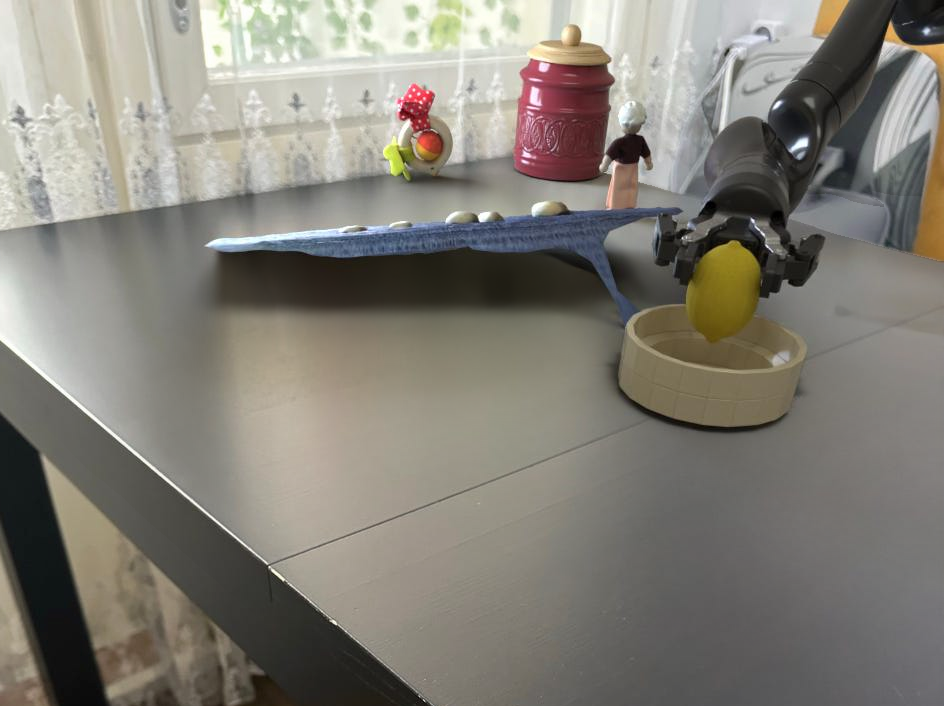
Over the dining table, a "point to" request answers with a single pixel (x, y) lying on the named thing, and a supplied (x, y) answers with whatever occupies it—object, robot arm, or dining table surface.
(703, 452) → the dining table surface
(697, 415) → the bowl
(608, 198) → the grandmother figurine
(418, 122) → the bird rattle
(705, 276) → the lemon
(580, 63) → the kitchen canister
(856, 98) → the robot arm
